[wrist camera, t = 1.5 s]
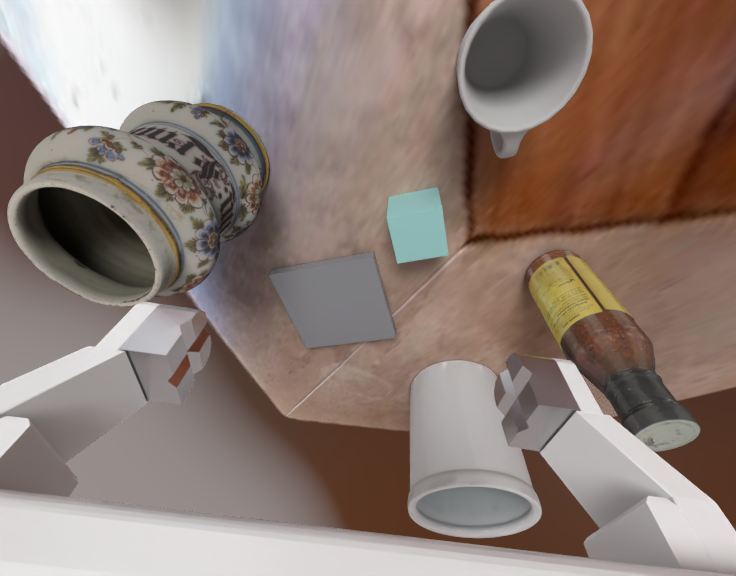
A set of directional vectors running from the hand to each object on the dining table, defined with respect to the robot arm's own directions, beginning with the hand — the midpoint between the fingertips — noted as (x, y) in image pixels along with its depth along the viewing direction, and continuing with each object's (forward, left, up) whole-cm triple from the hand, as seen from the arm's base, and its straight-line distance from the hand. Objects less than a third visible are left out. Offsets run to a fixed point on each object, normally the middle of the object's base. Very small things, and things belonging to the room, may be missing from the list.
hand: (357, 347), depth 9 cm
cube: (-1, +9, -27) cm, 29 cm away
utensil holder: (-2, +39, -27) cm, 48 cm away
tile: (+11, +19, -27) cm, 35 cm away
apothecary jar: (+17, -1, -27) cm, 32 cm away
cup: (-9, -2, -27) cm, 29 cm away
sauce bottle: (-15, +19, -27) cm, 37 cm away
